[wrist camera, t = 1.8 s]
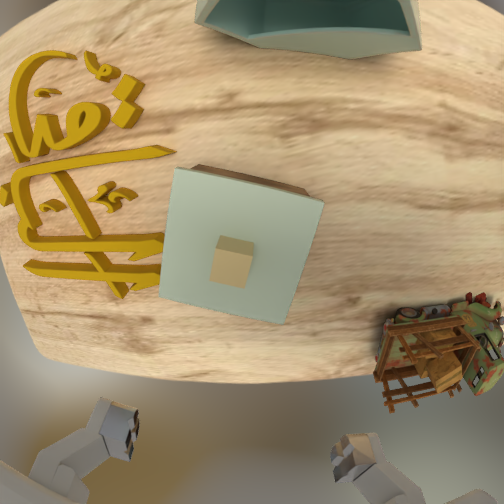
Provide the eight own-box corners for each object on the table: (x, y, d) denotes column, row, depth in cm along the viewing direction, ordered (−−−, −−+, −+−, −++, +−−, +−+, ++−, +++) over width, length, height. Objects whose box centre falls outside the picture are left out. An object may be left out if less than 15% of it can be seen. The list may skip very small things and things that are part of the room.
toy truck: (477, 335, 40) (516, 388, 27) (362, 356, 41) (389, 432, 28) (496, 286, 36) (546, 336, 22) (375, 299, 37) (418, 377, 23)
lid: (322, 200, 25) (332, 212, 21) (282, 319, 30) (285, 343, 26) (178, 166, 24) (163, 173, 21) (161, 291, 29) (149, 313, 26)
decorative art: (-3, 70, 22) (183, 18, 22) (9, 71, 25) (190, 27, 25) (13, 279, 35) (177, 306, 35) (23, 272, 38) (182, 294, 38)
